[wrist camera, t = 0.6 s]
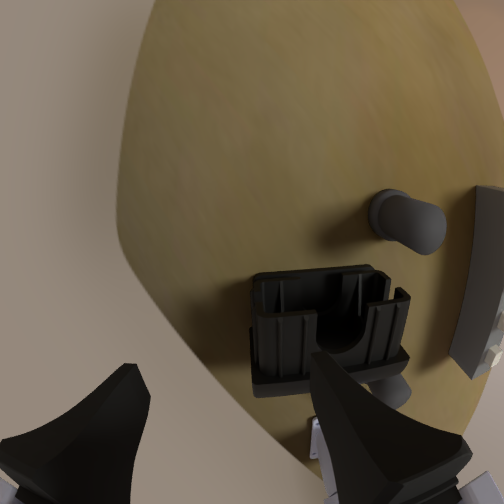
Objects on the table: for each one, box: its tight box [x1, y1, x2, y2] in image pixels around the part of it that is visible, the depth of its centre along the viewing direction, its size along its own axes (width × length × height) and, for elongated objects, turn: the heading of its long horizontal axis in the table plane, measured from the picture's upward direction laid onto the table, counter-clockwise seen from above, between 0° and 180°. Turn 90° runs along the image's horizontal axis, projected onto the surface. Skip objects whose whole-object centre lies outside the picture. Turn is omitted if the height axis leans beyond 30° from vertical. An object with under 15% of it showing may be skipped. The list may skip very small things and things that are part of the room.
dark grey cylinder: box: [365, 373, 411, 410], centre depth 20 cm, size 4×4×5 cm
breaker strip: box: [448, 185, 504, 380], centre depth 17 cm, size 18×3×6 cm, turn 6°
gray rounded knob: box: [368, 189, 447, 255], centre depth 16 cm, size 4×4×5 cm
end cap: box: [249, 264, 411, 398], centre depth 17 cm, size 10×7×7 cm
